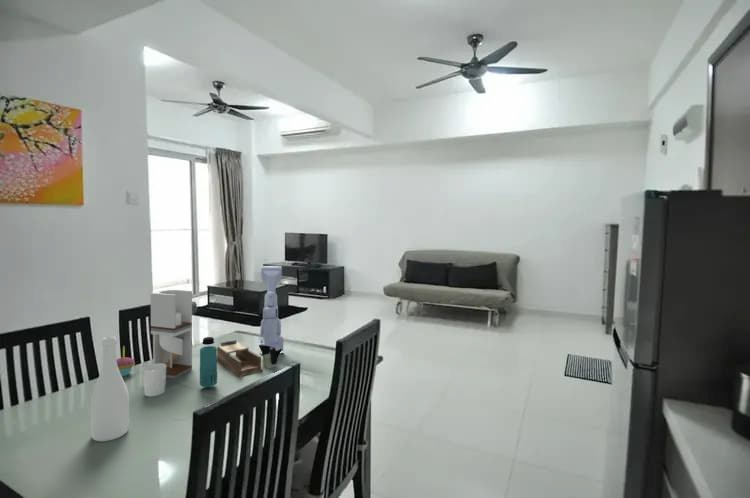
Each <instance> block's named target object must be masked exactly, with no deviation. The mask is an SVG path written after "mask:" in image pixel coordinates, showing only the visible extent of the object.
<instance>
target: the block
mask: <svg viewBox="0 0 750 498" xmlns="http://www.w3.org/2000/svg"><path fill="white" fill-rule="evenodd" d="M263 365H264V366H265V368H266V367H267V368H266V369H271V368H270V367H272V368H274V366H275V367H277V366H278V362H277V363H276V364H274V365H272V364H271V356H270V354H266V355H263V356H262V366H263ZM264 366H263V367H264Z"/></svg>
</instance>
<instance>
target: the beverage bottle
mask: <svg viewBox="0 0 750 498" xmlns="http://www.w3.org/2000/svg"><path fill="white" fill-rule="evenodd" d="M214 343H215V337H213V336H207V337H203V338H202V344H203V346H202V347H201V348H200V349H199V385H200V387H203V388H210V387H214V386H216V385H217V383H218V362H217V348H218V347H216V346H215V345H214Z"/></svg>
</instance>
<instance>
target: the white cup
mask: <svg viewBox="0 0 750 498" xmlns="http://www.w3.org/2000/svg"><path fill="white" fill-rule="evenodd" d="M166 380H167V378H166V364H162V363H157V364H153V363H150V364H148V365H144V366H143V367H142V383H143V390H144V396H147V397H157V396H160V395H162V394H164V393H165V391H166Z"/></svg>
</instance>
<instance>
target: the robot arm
mask: <svg viewBox="0 0 750 498" xmlns="http://www.w3.org/2000/svg"><path fill="white" fill-rule="evenodd" d="M282 273H283V267H282V266H281V265H263V266H261V273H260V274H261V276H260V277H261V282H262V283H263V284H265V285H266V290H267V291H266V293H265V294H264V302H263V303H264V307H263V308H262V319H261V321H260V336H261V337H262V338H260V344H259V345H258V347H259V349H260V351H261V352H262V353H261V352H260V351H259V354H260V353H261V354H260V355H262V356H261V357H263V355H266V354H270V356H271V364H272V365H274V364H276V363H277V364H278V360H279V356H280V355H281V354H280V352H281V351H283V352H284V338H283V336H282V335H281V334H282V325H281V324H282V323H281V322H282V320H281V319H280V318H279V308H278V294H277V293H276V292H277V290H276V289H277V286H278V284H280V283H281V281H282V276H283V274H282ZM279 354H280V355H279Z"/></svg>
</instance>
